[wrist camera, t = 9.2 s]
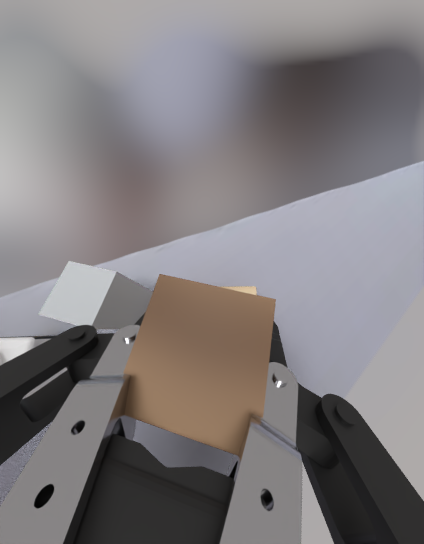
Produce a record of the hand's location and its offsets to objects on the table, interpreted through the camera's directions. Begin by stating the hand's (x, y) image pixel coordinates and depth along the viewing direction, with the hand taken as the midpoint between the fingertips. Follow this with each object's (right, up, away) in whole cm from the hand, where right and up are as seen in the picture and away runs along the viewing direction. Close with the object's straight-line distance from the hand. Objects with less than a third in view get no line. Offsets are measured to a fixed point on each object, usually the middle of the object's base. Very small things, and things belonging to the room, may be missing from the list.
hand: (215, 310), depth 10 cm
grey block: (-10, -2, +10) cm, 15 cm away
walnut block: (0, -3, +3) cm, 5 cm away
